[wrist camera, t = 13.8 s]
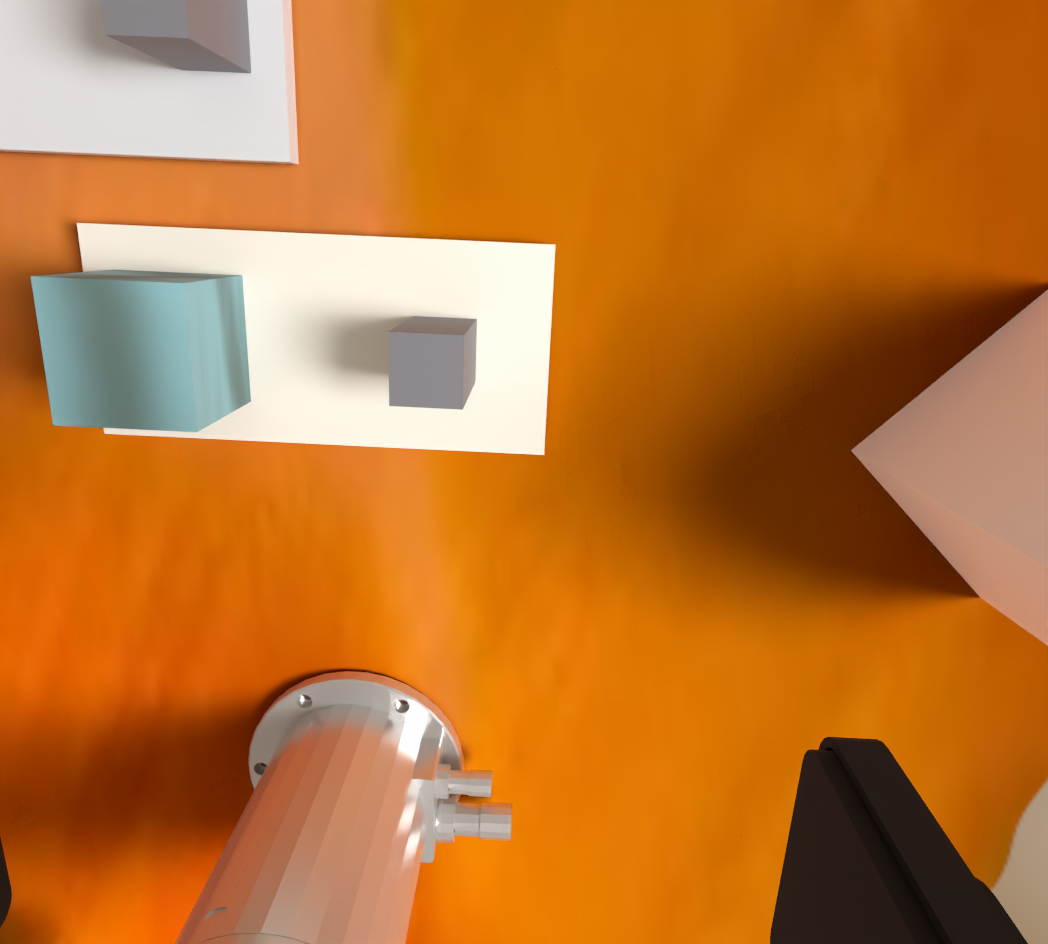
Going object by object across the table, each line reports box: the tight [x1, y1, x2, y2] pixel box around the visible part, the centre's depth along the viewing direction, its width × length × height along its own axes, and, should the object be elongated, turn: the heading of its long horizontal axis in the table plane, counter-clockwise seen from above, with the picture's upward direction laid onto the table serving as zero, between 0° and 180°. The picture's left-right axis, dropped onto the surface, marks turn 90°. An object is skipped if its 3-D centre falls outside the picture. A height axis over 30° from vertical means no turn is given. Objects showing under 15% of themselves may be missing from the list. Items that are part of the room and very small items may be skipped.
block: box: [31, 269, 251, 432], centre depth 33 cm, size 6×6×6 cm
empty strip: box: [0, 0, 299, 165], centre depth 30 cm, size 18×10×7 cm, turn 88°
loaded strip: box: [77, 223, 555, 455], centre depth 33 cm, size 22×10×7 cm, turn 88°
